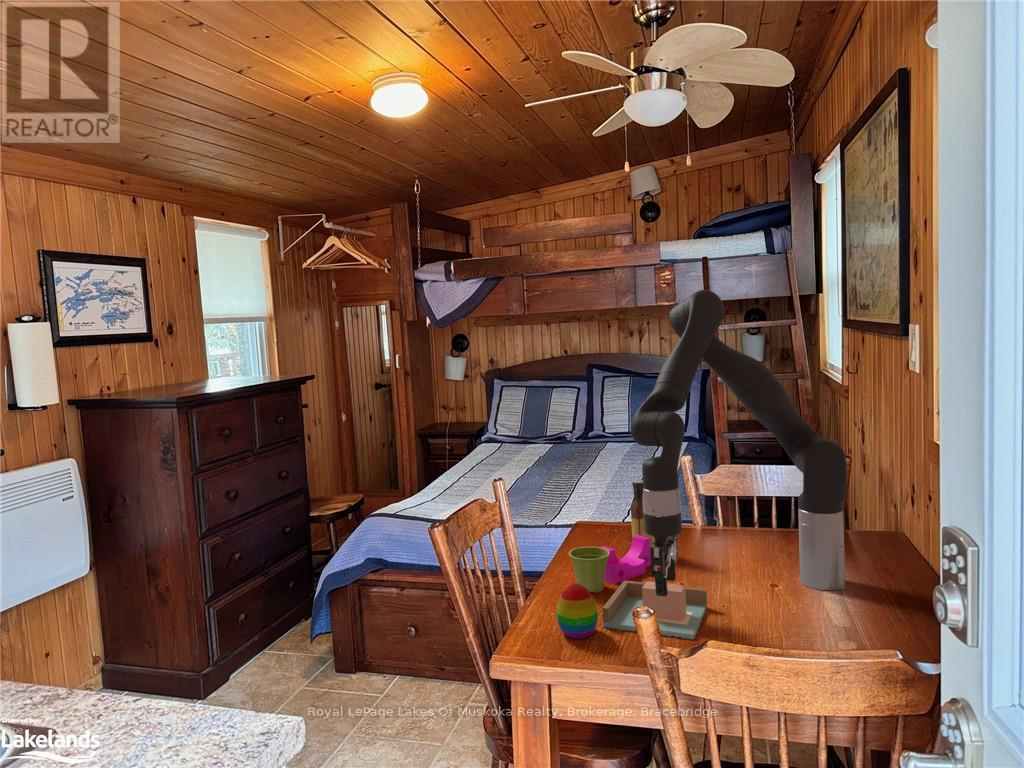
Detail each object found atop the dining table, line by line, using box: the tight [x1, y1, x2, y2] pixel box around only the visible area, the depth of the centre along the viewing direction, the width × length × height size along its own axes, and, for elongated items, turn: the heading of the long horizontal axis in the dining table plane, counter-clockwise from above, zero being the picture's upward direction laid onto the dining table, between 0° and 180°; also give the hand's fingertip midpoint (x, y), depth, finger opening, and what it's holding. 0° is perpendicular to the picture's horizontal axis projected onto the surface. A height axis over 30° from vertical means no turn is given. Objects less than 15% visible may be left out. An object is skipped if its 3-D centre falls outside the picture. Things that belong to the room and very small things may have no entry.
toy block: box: [600, 535, 651, 585], centre depth 167 cm, size 15×6×8 cm, turn 126°
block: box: [642, 580, 687, 621], centre depth 139 cm, size 4×8×6 cm, turn 65°
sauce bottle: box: [630, 479, 655, 547], centre depth 180 cm, size 6×6×20 cm
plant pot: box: [568, 546, 610, 594], centre depth 158 cm, size 9×9×9 cm
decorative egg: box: [556, 582, 599, 640], centre depth 135 cm, size 8×8×10 cm
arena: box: [601, 580, 708, 640], centre depth 141 cm, size 18×16×4 cm
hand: (666, 587), depth 138 cm, fingers open, 8 cm apart
